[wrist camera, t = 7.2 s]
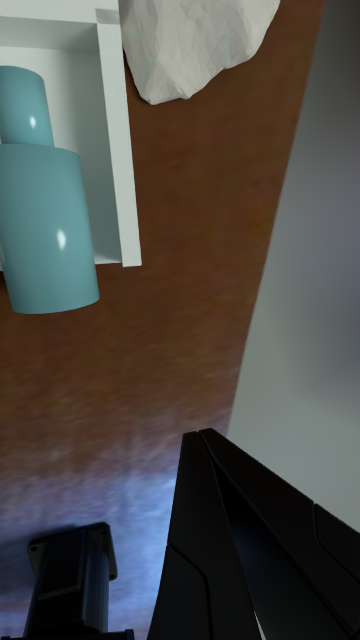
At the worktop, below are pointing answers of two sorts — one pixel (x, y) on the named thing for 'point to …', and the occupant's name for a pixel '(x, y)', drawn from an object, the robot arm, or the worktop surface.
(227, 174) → the worktop surface
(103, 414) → the worktop surface
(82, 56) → the u rest
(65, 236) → the bottle
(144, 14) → the decorative stone
